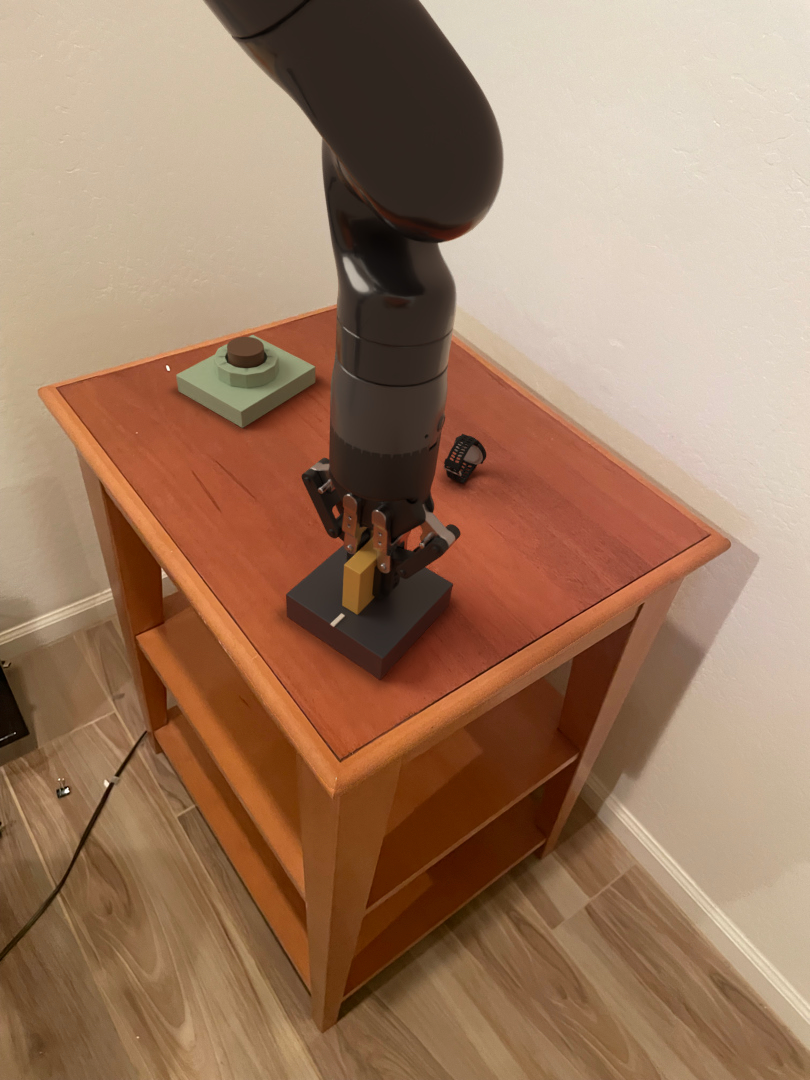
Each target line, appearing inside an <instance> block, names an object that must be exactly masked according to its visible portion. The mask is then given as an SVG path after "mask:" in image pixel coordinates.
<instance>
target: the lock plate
mask: <svg viewBox="0 0 810 1080" xmlns="http://www.w3.org/2000/svg"><path fill="white" fill-rule="evenodd" d="M372 538H373V537H372ZM372 538H371V539H372ZM371 539H370V540H371ZM346 561H347V551H346V550H345V548H344V544H343V545H341V546H340V547H339V548H338V549H337V550H336V551H334V552H333V553H332V554H331V555H330V556H328V557H327V558H326V559H325V560H324V561H322V562H321V564H319V565H318V566H317V567H316V568H314V570H312V571H311V572H310V573H309V574H307V576H305V577H304V578H303V579H302V580H301V581H299V582H298V583H297V584H296V585H295V586H293V587H292V588H291V589H290V590H288V592H287V593H286V594H285V600H286V601H285V603H286V617H287V618H288V619H289V620H291V621H292V622H294V623H295V624H297V625H298V626H300V627H301V628H303V629H304V630H306V631H307V632H308V633H310V634H311V635H313V636H315V637H316V638H318V639H319V640H321V642H323V643H325V644H326V645H328V646H329V647H331V648H332V649H334V650H335V651H336V652H338V653H339V654H341V655H342V656H344V657H345V658H347V659H348V660H350V661H351V662H353V663H354V664H355V665H357V666H358V667H360V668H362V669H363V670H365V671H366V672H367V673H369V674H371V676H373V677H375V678H376V679H378V680H379V681H381V680H382V679H383V678H385V676H386V674H387V673H388V672H389V671H390V670H391V669H392V668H393V667H394V666H395V665H396V664H397V663H398V662H399V660H400V659H401V658H402V657H403V656H404V655H405V654H406V653H407V652H408V651H409V650H410V649H411V647H413V645H414V644H415V643H416V642H417V641H418V640H419V639H420V638H421V637H422V636H423V635H424V633H426V631H427V630H428V629H429V628H430V627H431V626H432V625H433V623H434V622H435V621H436V620H437V619H438V618H439V617H441V615H442V614H443V613H444V611H445V610H447V608H449V606H450V601H451V597H452V591H453V588H454V583H452V582H451V581H450V580H448V579H446V578H445V577H443V576H441V575H439V574H438V573H436V572H434V571H433V570H431V569H429V568H428V567H427V566H426V567H424V568H423V569H421V570H420V571H418V572H417V573H415V574H414V575H412V576H411V577H409V578H408V579H404V578H402V577H400V580H399V584H398V586H397V587H396V588H395V589H394V590H393V591H392V592H391V593H390V594H389V595H388V596H387V597H386V596H383V597H382V599H378V598H376V597H374V598H373V599H372V600H371V601H370V602H369V604H368V605H367V606H366V607H365V608H364V609H363V610H362V611H361V612H360V613H359V614H358V615H357V614H355V613H354V612H352V611H350V610H349V609H347V608H345V607H344V606H342V600H343V579H344V564H345V563H346Z"/></svg>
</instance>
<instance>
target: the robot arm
mask: <svg viewBox="0 0 810 1080" xmlns="http://www.w3.org/2000/svg"><path fill="white" fill-rule="evenodd" d="M202 1H203V3H204V4H205V6H207V8H208V9H209V10H210V11H211V13H212V14H213V15H214V17H215V18H216V19H217V20H218V22H219V23H220V25H221V26H222V27H223V28H224V30H226V32H227V33H228V34H229V35H230V36H231V38H232V40H233V41H234V42H235V43H236V44H237V45H238V46H239V47H240V48H241V50H242V51H243V52H244V53H245V54H246V56H247V57H248V58H249V59H250V60H251V61H252V62H253V63H254V64H255V65H256V66H257V67H258V68H259V69H260V70H261V71H262V72H263V73H264V75H266V76H267V77H268V78H269V79H270V80H271V81H273V83H274V84H276V85H277V86H278V87H279V88H280V89H281V90H282V91H283V92H285V94H287V95H288V97H290V99H291V100H292V101H294V103H295V104H296V105H297V106H298V107H299V109H300V110H301V111H302V112H303V114H304V115H305V117H306V118H307V119H308V120H309V122H310V123H311V124H312V126H313V128H314V129H315V130H316V132H317V133H318V134H319V135H320V137H321V147H320V148H321V172H322V173H321V174H322V182H323V183H322V184H323V191H324V199H325V206H326V213H327V220H328V227H329V237H330V242H331V248H332V254H333V258H334V263H335V268H336V276H337V297H336V315H335V319H336V320H335V351H334V362H333V368H332V372H331V379H330V394H329V395H330V396H329V397H330V400H329V401H330V402H329V443H328V445H329V446H328V447H329V449H328V450H329V451H328V458H327V457H322V458H321V459H320V460H318V461H317V462H315V463H314V464H313V465H312V466H311V467H309V468H308V469H307V470H306V471H305V472H302V474H301V476H300V477H301V481H302V483H303V485H304V487H305V489H306V491H307V493H308V496H309V498H310V500H311V502H312V504H313V506H314V508H315V511H316V513H317V514H318V517H319V519H320V521H321V524H322V526H323V527H324V530H325V531H326V534H327V535H328V536H329V537H330V538H332V539H340V540H341V541H342V542H343V545H344V548H345V550H346V551H347V561H346V563H347V562H348V561H349V560H350V559H351V558H352V557H353V556H354V555H355V554H356V553H357V552H358V551H359V550H360V549H361V548H362V547H363V546H364V545H365V544H366V543H367V542H368V541H370V539H371V538H372V537H373V548H374V549H375V550H377V566H376V567H375V568H374V579H373V590H372V595H373V596H374V597H376V598H378V599H382V597H383V596H386V597H387V596H388V595H389V594H390V593H391V592H392V591H393V590H394V589H395V588H396V587H397V586H398V584H399V580H400V577H402V578H404V579H408V578H409V577H411V576H412V575H414V574H415V573H417V572H418V571H420V570H421V569H423V568H424V567H426V568H427V567H428V566H429V565H431V564H432V563H434V562H435V561H437V560H438V559H439V558H441V557H442V556H444V555H445V553H446V552H448V550H449V549H450V548H451V547H452V546H453V545H454V544H455V542H456V541H458V539H459V538H460V537H461V535H462V533H461V530H460V528H459V527H458V526H456V525H455V524H451V523H449V524H447V525H446V526H445V525H444V523H443V522H442V521H441V520H440V519H439V518H438V517H437V516H436V515H435V514H434V511H435V502H434V498H433V496H432V486H433V482H434V480H435V475H436V471H437V464H438V458H439V451H440V444H441V438H442V433H443V427H444V425H445V421H446V406H447V400H448V390H449V389H448V388H449V384H448V377H449V376H448V375H449V373H448V372H449V371H448V369H449V360H450V351H451V345H452V341H453V340H452V339H453V333H454V327H455V326H454V325H455V322H456V321H455V320H456V312H457V301H458V297H457V296H458V295H457V294H458V293H457V285H456V280H455V277H454V275H453V273H452V270H451V269H450V267H449V265H448V263H447V261H446V260H445V258H444V256H443V254H442V252H441V251H442V250H441V249H440V245H439V244H442V243H447V242H451V241H454V240H456V239H459V238H461V237H463V236H465V235H467V234H468V233H471V231H473V230H474V229H476V227H477V226H479V225H480V224H481V223H482V222H483V220H484V219H485V218H486V216H487V215H488V214H489V212H490V211H491V209H492V208H493V206H494V204H495V202H496V200H497V198H498V194H499V192H500V189H501V185H502V180H503V175H504V168H505V167H504V166H505V153H504V142H503V138H502V134H501V129H500V126H499V122H498V120H497V117H496V115H495V113H494V109H493V108H492V106H491V104H490V101H489V100H488V98H487V95H486V94H485V92H484V91H483V89H482V87H481V86H480V84H479V82H478V81H477V79H476V78H475V76H474V75H473V73H472V72H471V70H470V69H469V67H468V65H467V64H466V63H465V62H464V60H463V58H462V57H461V56H460V54H459V53H458V51H457V50H456V48H455V47H454V45H453V44H452V43H451V42H450V40H449V39H448V38H447V36H446V34H445V33H444V32H443V31H442V29H441V27H439V25H438V24H437V23H436V21H435V20H434V18H433V17H432V15H431V14H430V13H429V12H428V10H427V8H426V7H425V6H424V4H423V3H422V1H420V0H202ZM334 507H336V510H337V512H338V514H339V515H338V516H337V517H336V516H335V514H334V512H333V509H334ZM418 527H420V529H421V534H420V535H419V540H420V542H419V543H418V546H416V547H415V548H414V549H413V550H411V549H408V539H409V536H410V535H411V532H412V530H414V529H416V528H418Z"/></svg>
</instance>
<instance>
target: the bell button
mask: <svg viewBox="0 0 810 1080" xmlns="http://www.w3.org/2000/svg"><path fill="white" fill-rule="evenodd" d="M226 344H227V353H228V362H229V363H230V364H231V365H233V366H234V367H238V368H245V369H248V368H254V367H258V366H260V365H262V364H263V363H264V360H265V358H264V345H263V343H262V342H261V341H260V340H258V339H256V338H252V337H249V336H239V337H235V338H233V339H231V340H230V341H228V343H226Z"/></svg>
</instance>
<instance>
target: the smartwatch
mask: <svg viewBox="0 0 810 1080" xmlns="http://www.w3.org/2000/svg"><path fill="white" fill-rule="evenodd" d="M486 459H487V451H486V448H485V447H484V445H483V443H482V442H481V441H480V440H479V439H477V438H476V437H474V436H472V435H467V434H464V433H461V435H458V436H456V437H455V440H454V442H453V445H452V447H451V448H450V450H449V452H448V455H447V456H446V458H444V462H443V469H444V470H446V471H445V472H446V473H445V474H446V476H447V478H449V479H451V480H452V481H454V482H457V483H459V484H464V483H466V482H467V480H468V479H469V478H470V476H471V475H472V473H473V472H474V471H475V469H476V468H477V467H478V465H483V464H484V462H485V461H486Z"/></svg>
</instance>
